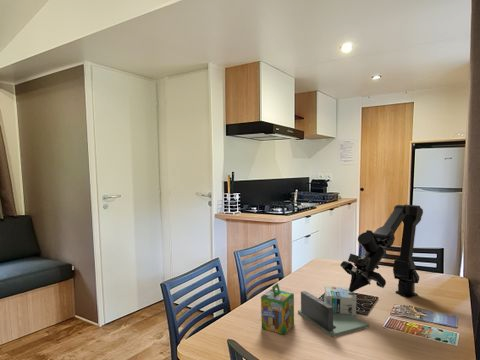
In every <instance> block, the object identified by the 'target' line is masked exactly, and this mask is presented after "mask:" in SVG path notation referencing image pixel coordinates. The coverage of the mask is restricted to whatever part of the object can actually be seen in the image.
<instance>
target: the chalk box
mask: <svg viewBox="0 0 480 360" xmlns="http://www.w3.org/2000/svg"><path fill="white" fill-rule="evenodd" d="M276 289H277V290H276ZM294 296H295V294H294V293H291V292H288V291H285V290H280V286H279V283H278V282H277V283H275V284H274V285H273V286H272V289H269V290H268V291H267V292H266V293H264V294H263V295H261V296H260V307H261V308H260V311H261V312H260V313H261V319H260V320H261V330H265V331H266V330H267V331H269V332H272V333H273V332H274V333H277V334H280V335H284V336H285V335H286V334H287V333H288V332H289V330H290V329H292V327H293V326H294V325H295V299H294V298H295V297H294Z"/></svg>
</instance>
